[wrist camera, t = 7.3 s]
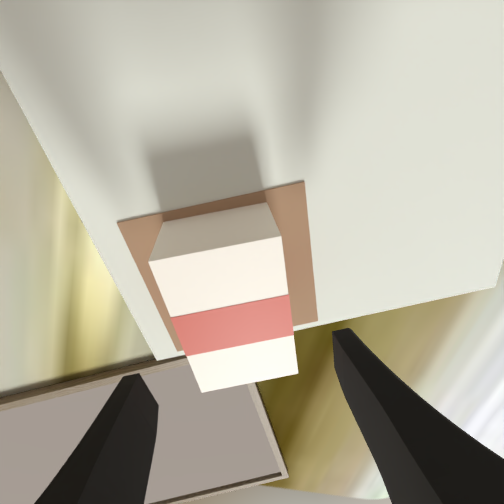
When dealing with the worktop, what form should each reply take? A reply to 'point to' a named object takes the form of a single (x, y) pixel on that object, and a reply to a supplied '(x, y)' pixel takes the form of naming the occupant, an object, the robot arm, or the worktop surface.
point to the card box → (227, 295)
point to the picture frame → (167, 440)
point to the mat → (276, 137)
